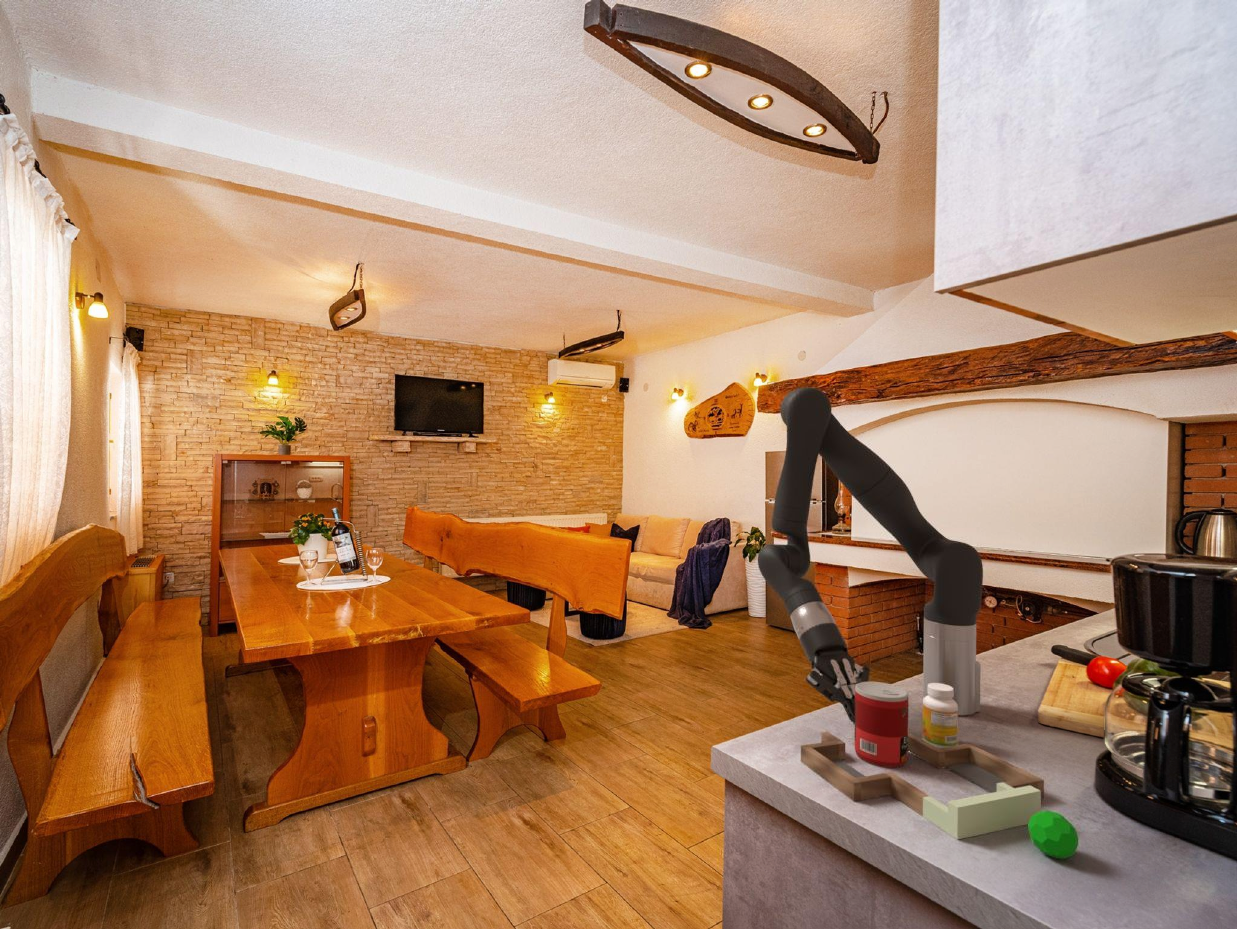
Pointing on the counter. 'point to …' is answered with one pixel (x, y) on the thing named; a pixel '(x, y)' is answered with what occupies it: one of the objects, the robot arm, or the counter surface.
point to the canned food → (881, 724)
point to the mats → (964, 770)
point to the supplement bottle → (940, 716)
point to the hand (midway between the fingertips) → (861, 722)
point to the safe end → (984, 811)
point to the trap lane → (893, 785)
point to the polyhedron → (1053, 834)
